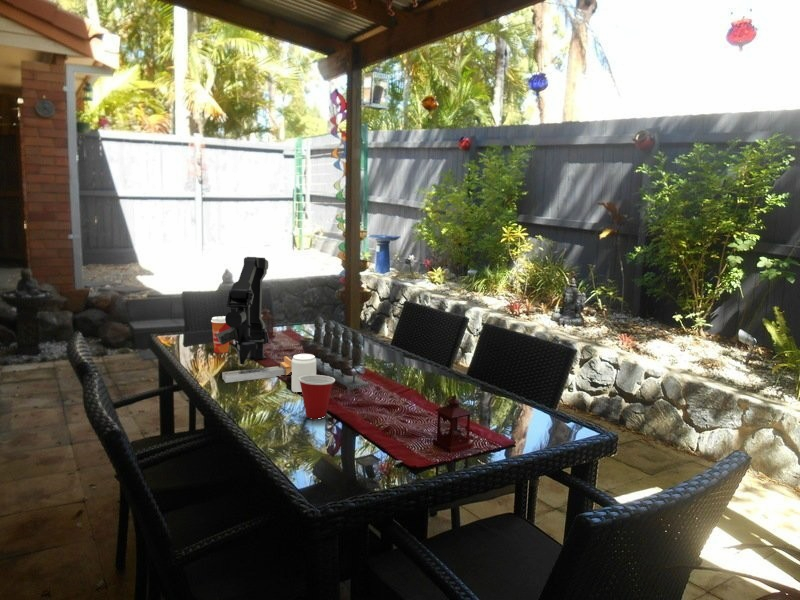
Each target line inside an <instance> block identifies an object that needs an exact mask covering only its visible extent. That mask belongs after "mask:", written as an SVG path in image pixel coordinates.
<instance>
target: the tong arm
mask: <svg viewBox="0 0 800 600" xmlns="http://www.w3.org/2000/svg"><path fill="white" fill-rule="evenodd" d="M276 368H280V366H278V365H277V366H271V367H270V366H269V367H261V368H250V369H249V368H248V369H242V370H231V371H222V373H221V374H222V375H221V376H222V380H223V381H224V374H231V373H240V372H249V371H258V370H267V369H276Z"/></svg>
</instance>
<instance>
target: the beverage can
mask: <svg viewBox="0 0 800 600" xmlns="http://www.w3.org/2000/svg"><path fill="white" fill-rule="evenodd" d="M291 360H292V375H291V391H292V392H293V393H295V392H302V389H301V385H300V381H299V377H301V376H305V375H317V359H316V356H315V355H314V354H311V353H299V354H294V355H293V357H292V359H291Z"/></svg>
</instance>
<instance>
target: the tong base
mask: <svg viewBox="0 0 800 600" xmlns="http://www.w3.org/2000/svg"><path fill="white" fill-rule="evenodd" d="M281 375H286V369H285V368H284V367H283V366H281V368H280V367H279V368H276V369H267V370H258V371H249V372H240V373H231V374H224V380H223V381H224V383H225V384H228V383H237V382H246V381H251V380H252V381H253V380H262V379H269V378H277V377H276V376H279V377H282V376H281Z"/></svg>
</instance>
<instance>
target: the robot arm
mask: <svg viewBox="0 0 800 600" xmlns="http://www.w3.org/2000/svg"><path fill="white" fill-rule="evenodd" d="M268 269H269V261H268V260H267V259H266V258H265V257H257V256H246V257H244V258H243V266H242V269H241V272H240V275H239V278H238V280H237V281H235V282H234V283H233V284H232V287H231V288H230V289H229V291H228V296H227V302H226V308H230V311H229V312H228V313H227V314H226V315H225V316H226V317H225V322H226V324H227V325H228V326H229V327H230V329H227V330H225V331H222V332H220V333H218V334H216V335H217V338H218V340H219V343H221V344H222V345H223V344H226V343H227V342H229V343H230V342H231V341H233V343H231V344H230V345H231V346H232V347H233V348H234V349H235V350H236V353H237V354H236V355H237V358H238V361H239V364H240V365H245V363H246V360H247V359H249V360H250V361H256V360H265V359H266V360H267V358H268V357H267V356H266V355H265V345H266V344H269V342H270V338H269V333H268V330H267V329H266V323H265V321H264V319H263V318H262V305H263V304H262V301H263V280H264V278H265V277H266V275H267V272H268Z"/></svg>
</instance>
